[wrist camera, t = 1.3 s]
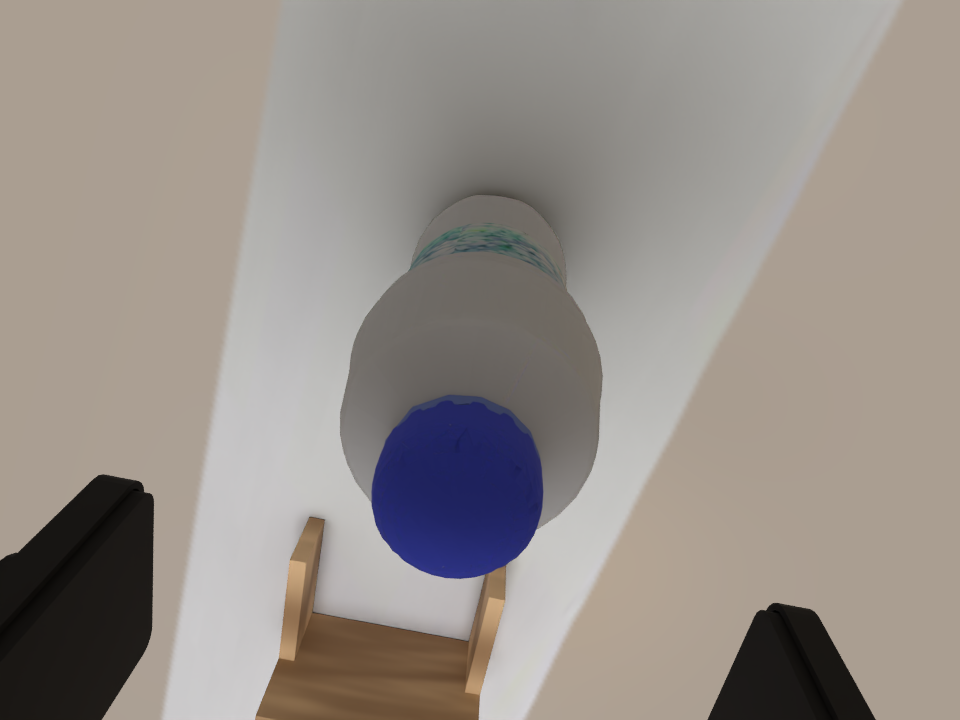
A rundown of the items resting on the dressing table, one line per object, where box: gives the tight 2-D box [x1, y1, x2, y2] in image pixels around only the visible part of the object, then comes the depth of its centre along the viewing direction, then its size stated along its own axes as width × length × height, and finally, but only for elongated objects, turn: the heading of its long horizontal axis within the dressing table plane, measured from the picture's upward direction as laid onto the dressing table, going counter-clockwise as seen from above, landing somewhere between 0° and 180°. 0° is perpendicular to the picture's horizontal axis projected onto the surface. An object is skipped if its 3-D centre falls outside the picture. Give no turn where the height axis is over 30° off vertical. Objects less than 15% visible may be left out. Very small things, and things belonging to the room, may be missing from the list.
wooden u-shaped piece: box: [255, 517, 506, 720], centre depth 35 cm, size 8×11×7 cm
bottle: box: [340, 195, 603, 579], centre depth 22 cm, size 7×7×20 cm
